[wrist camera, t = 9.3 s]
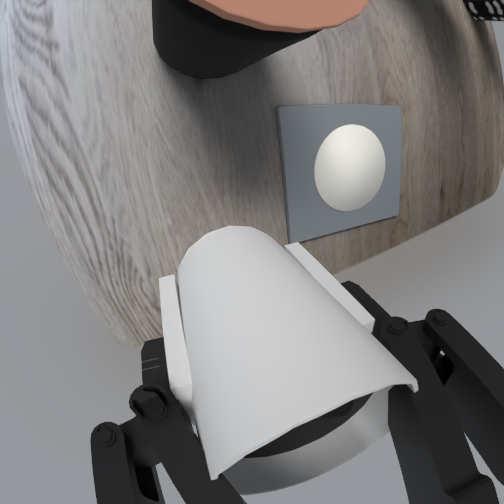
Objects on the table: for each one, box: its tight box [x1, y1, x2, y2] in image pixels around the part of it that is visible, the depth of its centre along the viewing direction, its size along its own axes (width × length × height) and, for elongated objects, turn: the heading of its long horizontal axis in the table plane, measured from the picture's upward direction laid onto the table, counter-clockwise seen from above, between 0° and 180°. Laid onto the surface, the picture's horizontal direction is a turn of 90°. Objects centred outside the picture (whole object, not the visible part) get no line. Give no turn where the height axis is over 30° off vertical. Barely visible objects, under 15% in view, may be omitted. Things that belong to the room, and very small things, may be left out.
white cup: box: [177, 226, 419, 495], centre depth 11 cm, size 7×7×10 cm
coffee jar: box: [152, 0, 370, 79], centre depth 13 cm, size 11×11×18 cm
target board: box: [276, 104, 402, 244], centre depth 32 cm, size 16×18×1 cm
